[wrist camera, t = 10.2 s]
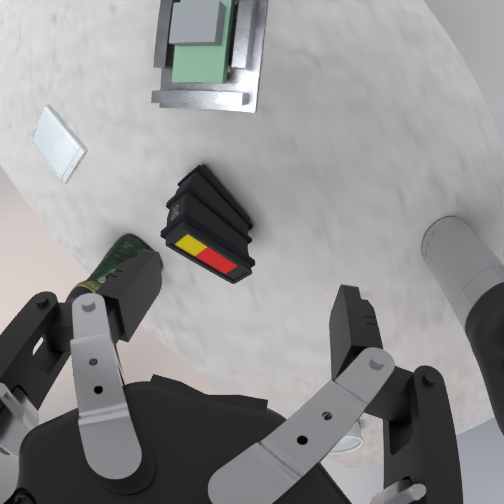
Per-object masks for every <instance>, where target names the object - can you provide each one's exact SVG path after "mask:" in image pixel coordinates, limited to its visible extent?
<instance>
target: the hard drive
mask: <svg viewBox="0 0 504 504" xmlns="http://www.w3.org/2000/svg"><path fill="white" fill-rule="evenodd" d="M29 140H30V141H31V143H32V144H33V145H34V147H35V148H36V149H37V150H38V152H39V153H40V154H41V156H42V157H43V158H44V159H45V161H46V162H47V163H48V164H49V166H50V167H51V168H52V169H53V171H54V172H55V173H56V174H57V175H58V177H59V178H60V179H61V180H62V181H63V182H64V184H66V183H68V181H69V180H70V178H71V176H72V175H73V173H74V172H75V170H76V168H77V167H78V165H79V164H80V162H81V161H82V159H83V158H84V156H85V155H86V153H87V152H88V149H87V148H86V146H85V145H84V144H83V143H82V142H81V141H80V139H79V138H78V137H77V136H76V135H75V134H74V132H73V131H72V130H71V129H70V128H69V127H68V125H67V124H66V123H65V122H64V121H63V119H62V118H61V117H60V116H59V115H58V113H57V112H56V111H55V110H54V109H53V107H52V106H51V105H50V104H49V105H46V106H45V108H44V109H43V111H42V113H41V115H40V117H39V119H38V121H37V123H36V125H35V127H34V129H33V131H32V133H31V135H30V137H29Z"/></svg>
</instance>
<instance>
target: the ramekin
mask: <svg viewBox="0 0 504 504" xmlns="http://www.w3.org/2000/svg"><path fill="white" fill-rule="evenodd" d="M362 443H363V438H362V436H361V431H360V427H359V423H358V422H357V421H356V422H355V424H354V425H353V426H352V427H351V428H350V430H349V431H348V432H347V433H346V434H345V435H344V437H343V438H342V439H341V440H340V441H339V442H338V443H337V444H336V446H335V447H334V448H333V449H332V450H331V451H330V452H329V453H328V454H340V453H346V452H350V451H353V450H355V449H357V448H359V447H360V446H361V445H362Z"/></svg>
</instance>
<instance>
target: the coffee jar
mask: <svg viewBox="0 0 504 504" xmlns="http://www.w3.org/2000/svg"><path fill="white" fill-rule="evenodd" d="M143 249H145V250H150V249H149V248H148V247H147V246H146V245H145V244H143V243H142V242H141V241H139V240H138V239H137V238H135V237H133V236H130V235H126V236H122V237H121V238H120V239H118V241H117V242H116V243H115V244H114V245H113V246H112V247H111V249H110V250H109V251H108V252H107V254H106V255H105V257H104V258H103V260H102V261H101V263H100V264H99V265H98V267H97V268H96V269H95V271H94V272H93V273H92V274H91V276H90V277H89V278H88V279H87V280H86V281H83V282H81V283H79V284H77V285H76V286H75V287H74V288H73V289H72V291H71V292H70V294H69V296H68V297H67V299H66V302H65V303H73V302H74V301H75V300H76V299H77V298H78V297H79V296H81V295H84V294H87V293H95V292H96V291H97V290H98V289H99V288H100V286H101V285H102V284H103V283H104V282H105V281H106V280H107V279H108V277H109V276H111V274H112V273H113V272H114V271H116V269H117V267H118V266H119V265H120V264H121V263H122V262H124V261H126V260H128V259H130V258H135V257H136V256H137V254H138V253H139V252H140V251H141V250H143ZM150 251H151V250H150ZM160 263H161V262H160ZM161 271H162V264H161Z"/></svg>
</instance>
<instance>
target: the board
mask: <svg viewBox="0 0 504 504" xmlns="http://www.w3.org/2000/svg"><path fill="white" fill-rule="evenodd" d="M234 8H235V0H181V1H180V2H179V3H174V5H173V12H172V20H171V28H170V37H169V43H170V44H173V45H175V51H174V61H173V73H172V82H189V83H223V84H226V80H227V70H228V60H229V51H230V42H231V33H232V24H233V16H234Z"/></svg>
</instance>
